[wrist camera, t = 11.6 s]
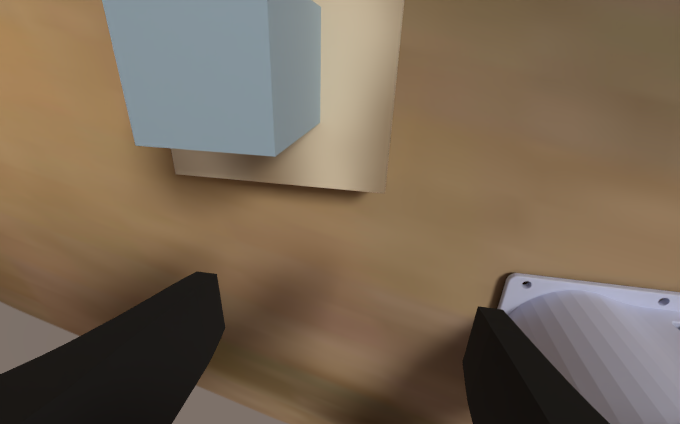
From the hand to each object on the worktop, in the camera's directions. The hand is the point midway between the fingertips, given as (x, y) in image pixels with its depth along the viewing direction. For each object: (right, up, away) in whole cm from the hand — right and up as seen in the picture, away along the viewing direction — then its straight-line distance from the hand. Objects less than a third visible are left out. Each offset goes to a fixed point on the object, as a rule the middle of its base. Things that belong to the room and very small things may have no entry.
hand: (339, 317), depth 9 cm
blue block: (-3, +9, +5) cm, 11 cm away
